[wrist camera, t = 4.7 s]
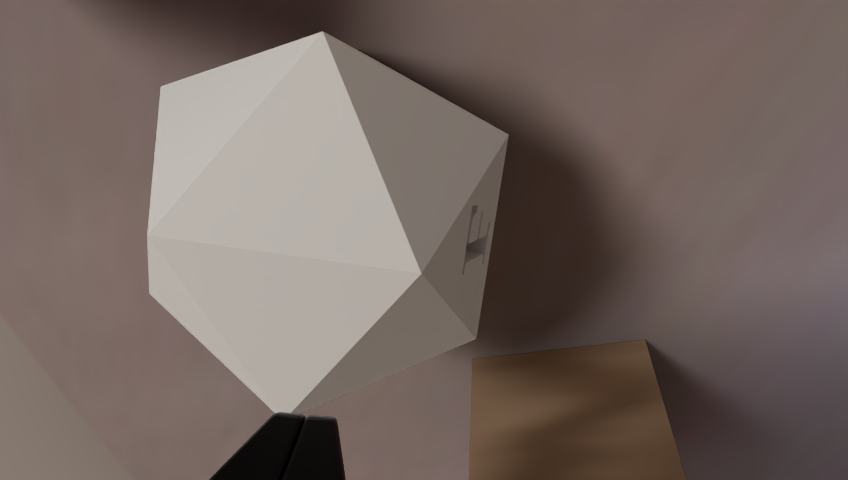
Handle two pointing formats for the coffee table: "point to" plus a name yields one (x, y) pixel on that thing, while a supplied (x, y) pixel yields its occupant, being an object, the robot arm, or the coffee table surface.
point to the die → (320, 219)
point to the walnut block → (571, 416)
